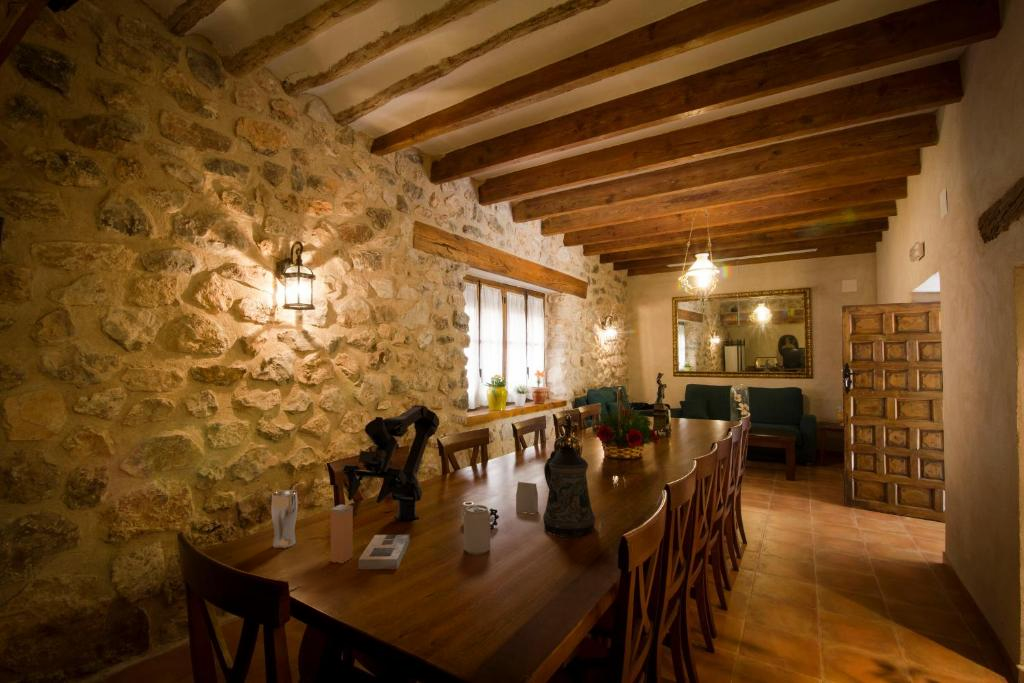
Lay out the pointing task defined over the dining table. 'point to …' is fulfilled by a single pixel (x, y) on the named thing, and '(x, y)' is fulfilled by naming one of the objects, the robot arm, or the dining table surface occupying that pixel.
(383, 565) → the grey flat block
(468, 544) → the can
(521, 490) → the tea bag
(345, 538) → the square peg
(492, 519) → the valve
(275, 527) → the beer glass
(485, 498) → the dining table surface
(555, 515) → the beer stein
